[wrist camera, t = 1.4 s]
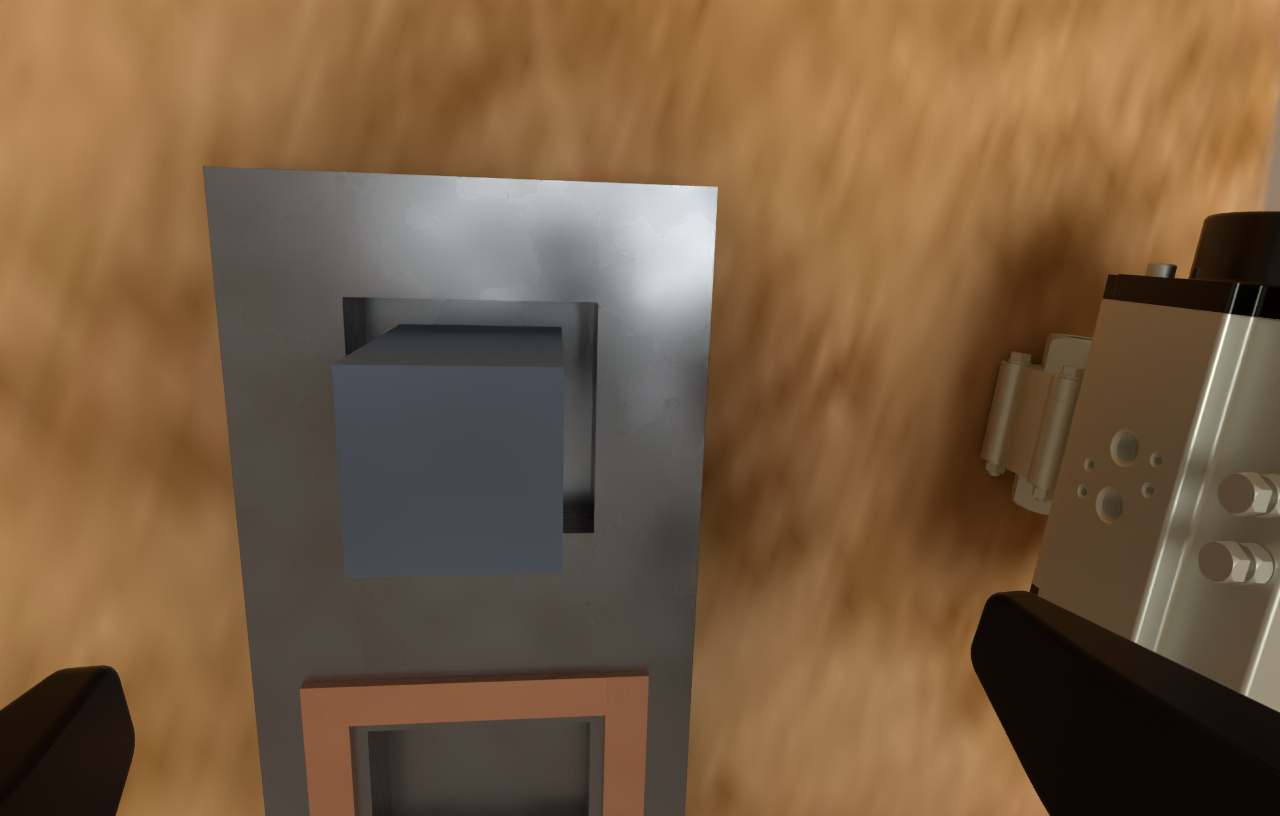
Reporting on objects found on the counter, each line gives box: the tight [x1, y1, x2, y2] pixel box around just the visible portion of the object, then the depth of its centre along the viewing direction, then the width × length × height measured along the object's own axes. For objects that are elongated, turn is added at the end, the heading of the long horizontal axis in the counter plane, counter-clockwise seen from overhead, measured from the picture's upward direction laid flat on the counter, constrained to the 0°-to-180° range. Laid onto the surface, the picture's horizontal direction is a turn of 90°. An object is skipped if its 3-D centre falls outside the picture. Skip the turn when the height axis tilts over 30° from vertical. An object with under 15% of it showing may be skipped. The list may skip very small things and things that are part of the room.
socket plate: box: [203, 166, 718, 816], centre depth 22 cm, size 24×12×3 cm, turn 178°
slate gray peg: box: [332, 324, 564, 578], centre depth 18 cm, size 4×4×6 cm
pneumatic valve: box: [980, 211, 1280, 712], centre depth 18 cm, size 6×12×12 cm, turn 173°
